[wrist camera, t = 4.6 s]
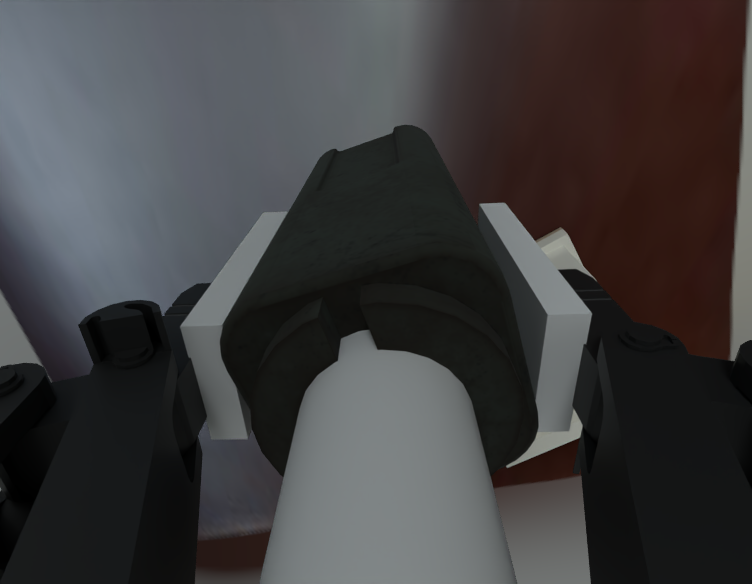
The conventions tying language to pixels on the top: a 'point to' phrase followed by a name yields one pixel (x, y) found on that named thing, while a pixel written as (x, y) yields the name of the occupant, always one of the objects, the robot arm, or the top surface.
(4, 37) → the top surface
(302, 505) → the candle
